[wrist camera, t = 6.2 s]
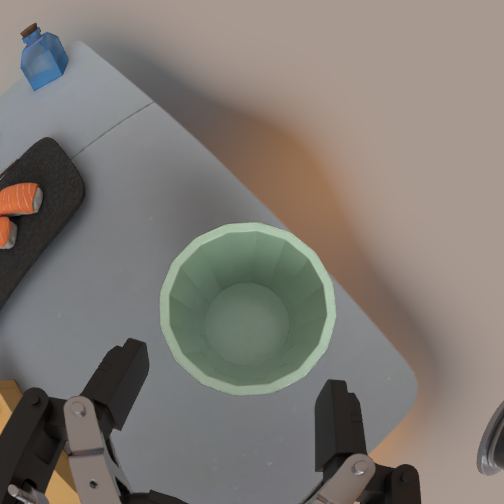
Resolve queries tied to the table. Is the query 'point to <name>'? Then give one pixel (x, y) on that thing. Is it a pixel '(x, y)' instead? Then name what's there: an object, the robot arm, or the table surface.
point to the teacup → (247, 309)
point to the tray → (61, 483)
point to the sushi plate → (34, 208)
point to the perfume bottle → (42, 57)
